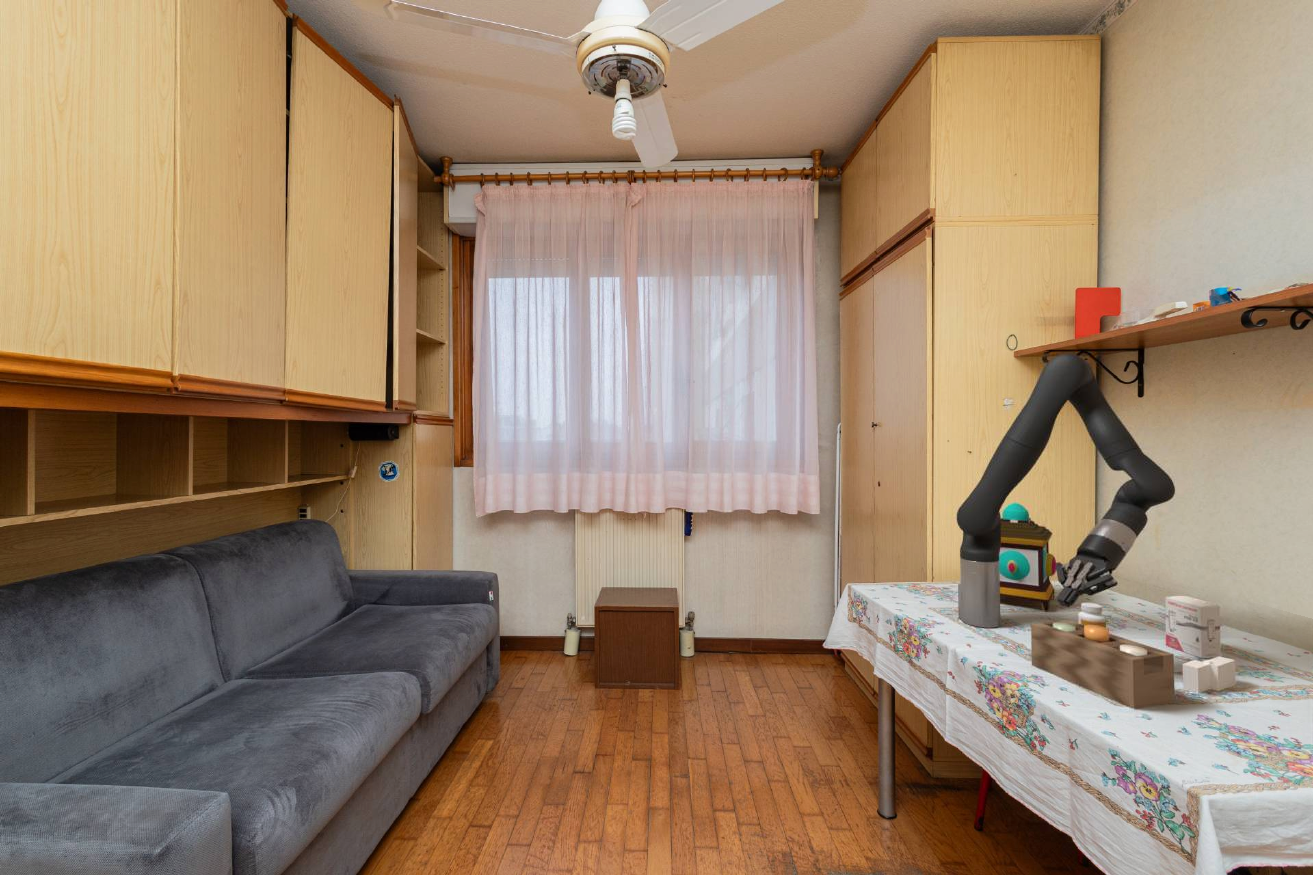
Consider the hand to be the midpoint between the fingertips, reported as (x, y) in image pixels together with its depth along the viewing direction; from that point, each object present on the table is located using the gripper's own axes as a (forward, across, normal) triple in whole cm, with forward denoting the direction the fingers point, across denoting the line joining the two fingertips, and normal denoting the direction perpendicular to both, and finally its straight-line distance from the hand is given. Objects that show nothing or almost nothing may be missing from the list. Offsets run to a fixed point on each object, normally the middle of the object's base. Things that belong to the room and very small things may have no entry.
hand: (1062, 603), depth 121 cm
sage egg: (+5, 0, +6) cm, 8 cm away
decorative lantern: (-14, -44, +35) cm, 57 cm away
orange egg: (+4, +7, +4) cm, 9 cm away
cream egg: (+5, +14, +5) cm, 16 cm away
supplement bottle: (-4, -9, +24) cm, 25 cm away
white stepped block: (-3, +14, +23) cm, 28 cm away
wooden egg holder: (+10, +7, +10) cm, 16 cm away
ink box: (-17, 0, +36) cm, 40 cm away
